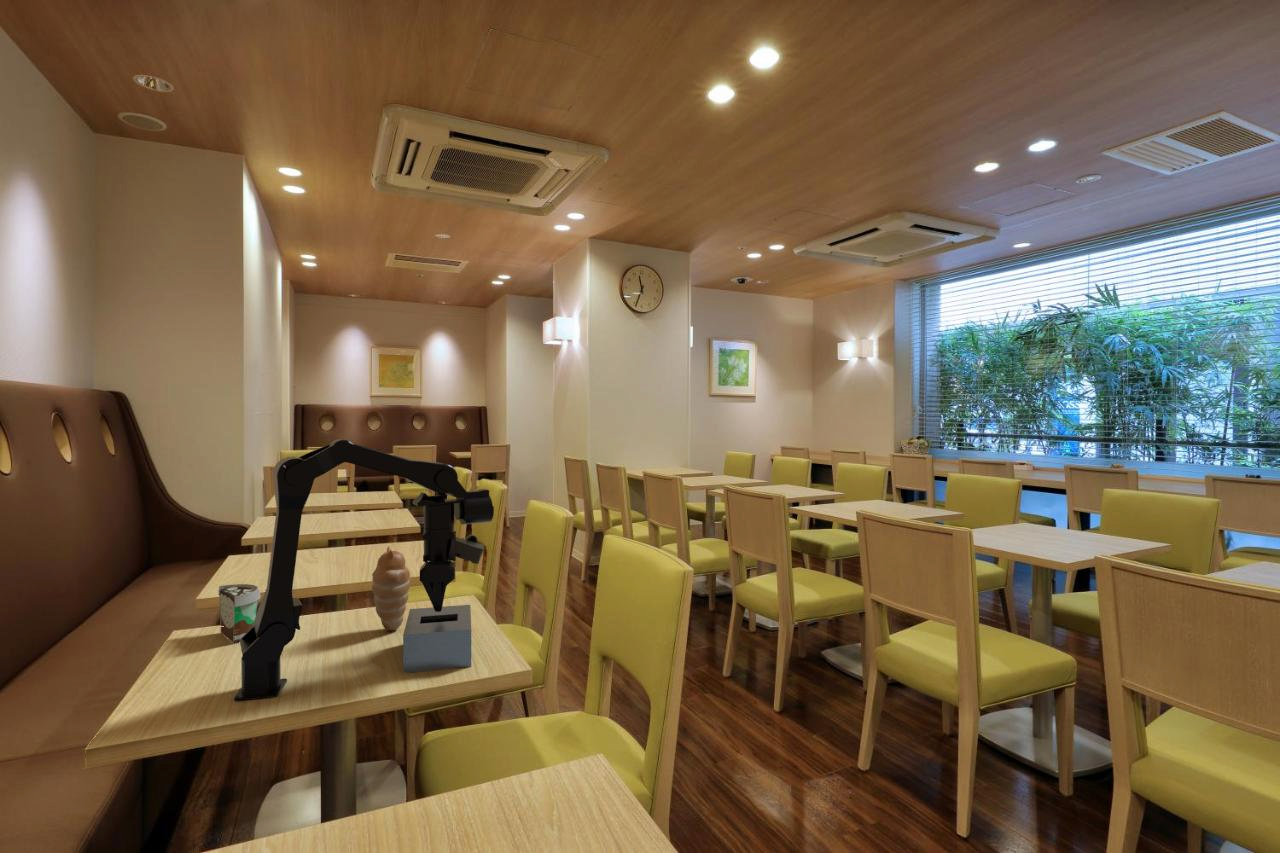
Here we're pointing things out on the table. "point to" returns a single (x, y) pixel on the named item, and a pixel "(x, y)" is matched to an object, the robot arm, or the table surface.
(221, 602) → the food container
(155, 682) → the table surface
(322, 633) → the table surface
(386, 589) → the tan ribbed tall piece
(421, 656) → the box
